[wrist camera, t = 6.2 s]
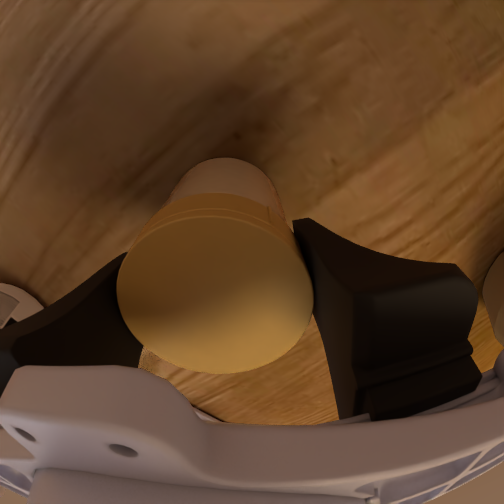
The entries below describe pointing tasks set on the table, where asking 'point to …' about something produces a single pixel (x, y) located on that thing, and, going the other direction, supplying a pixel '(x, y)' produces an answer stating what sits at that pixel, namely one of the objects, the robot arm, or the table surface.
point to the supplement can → (15, 312)
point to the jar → (228, 182)
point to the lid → (216, 285)
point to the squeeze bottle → (495, 296)
